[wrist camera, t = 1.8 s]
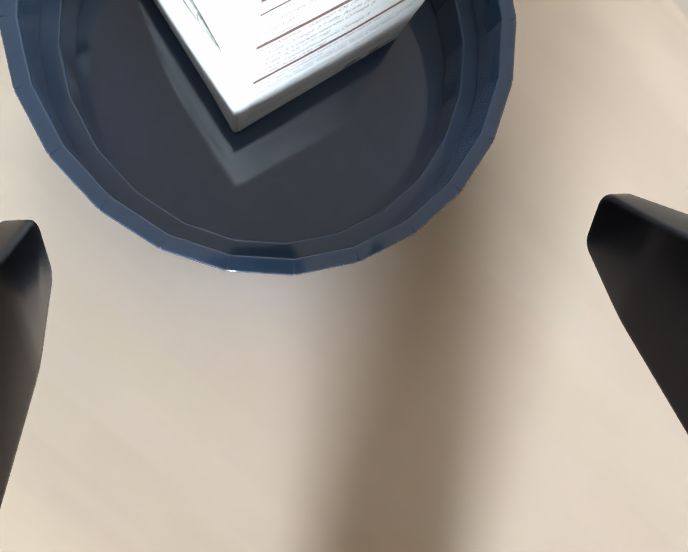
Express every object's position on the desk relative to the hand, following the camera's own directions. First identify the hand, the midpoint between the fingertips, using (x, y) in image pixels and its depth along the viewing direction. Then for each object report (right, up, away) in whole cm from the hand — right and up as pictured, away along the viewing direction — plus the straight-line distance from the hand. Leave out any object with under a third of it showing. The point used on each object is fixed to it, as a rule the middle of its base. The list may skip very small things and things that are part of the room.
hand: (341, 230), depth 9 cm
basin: (-3, +7, +12) cm, 14 cm away
